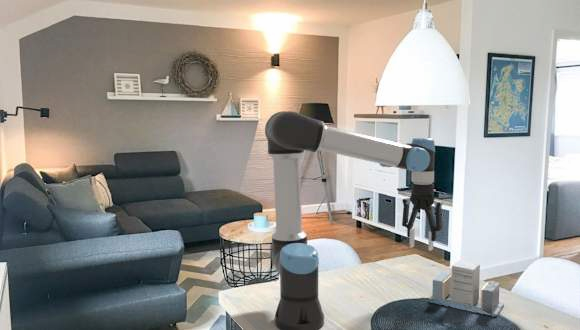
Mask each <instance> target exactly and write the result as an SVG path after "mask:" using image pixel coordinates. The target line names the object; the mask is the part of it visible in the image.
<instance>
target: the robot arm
mask: <svg viewBox="0 0 580 330" xmlns="http://www.w3.org/2000/svg"><path fill="white" fill-rule="evenodd" d="M264 134H265V137H266V139H267V153H268V156H269V157H271V158H272V162H273V165H272V166H273V167H272V168H273V184H274V185H273V187H274V205H275V206H274V211H275V212H274V213H275V232H274V233H273V234H272V235H271V249H270V259H271V260H270V261H271V262H272V265H273V266H274V268H275V269H276V270H277V273H278V274H279V279H280V282H279V283H280V284H279V287H280V288H279V289H280V292H279V293H280V295H279V296H280V298H279V302H278V303H277V304H278V305H277V307H276V311H275V315H274V324H275V326H276V327H277V328H278V329H279V330H319V329H321V328H323V327H324V324H325V314H324V312H323V307H322V306H321V305H322V304H321V303H320V299H319V265H320V259H319V253H318V250H317V249H316V247H314V246H312V245H311V244H308V233H306V232H305V231H304V230H303V220H302V217H303V215H302V195H301V194H302V192H301V191H302V190H301V187H302V186H301V170H300V169H301V168H300V166H301V164H300V158H301V156H302V155H303V154H304V153H305V151H307V152H311V153H317V152H319V151H323V152H327V153H331V154H335V155H340V156H344V157H349V158H354V159H358V160H363V161H365V162H370V163H371V162H372V163H377V164H379V166H380V167H383V168H392V167H393V168H398V169H402V170H406V171H410V172H411V180H410V181H411V182H412V183H411V184H410V185H411V186H410V187H411V189H410V190H411V192H410V193H411V195H410V197H408V198H407V197H405V198H403V199H402V205H403V207H402V208H403V210H402V211H403V212H402V221H401V225H402V227H405V228H406V229H407V230H406V231H407V232H406V235H407V236H406V237H407V238H409V249H412V248H414V247H415V239H416V238H415V234H416V233H415V232H416V231H415V229H416V228H414V224H415V221H416V218H417V215H418V212H419V210H422V211H424V213H425V214H426V218H427V222H428V225H429V228H430V231H428V249H427V250H428V251H429V252H431V251H433V250H434V242H435V241H437V232H440V231H441V230H442V229H443V221H442V207H443V204H444V203H443V201H438V200H436V199H435V196H434V193H435V191H434V190H435V185H434V183H435V154H436V145H435V140H434V139H433V138H430V137H429V138H428V137H417V138H416V137H415V138H413V139H412V140H411V143H409V144H405V143H404V144H402V143H401V142H396V141H393V140H392V141H391V140H388V139H383V138H379V137H375V136H371V135H366V134H363V133H359V132H354V131H350V130H346V129H341V128H339V127H334V126H329V125H326V124H325V123H324V121H323V120H319V119H315V118H312V117H309V116H306V115H304V114H302V113H299V112H298V111H297V112H296V111H289V110H288V111H286V110H282V111H278V112H275V113H274V114H272V115H271V116H270V117H269V118H268V120H267V121H266V124H265V127H264ZM410 204H412V205H413V206H412V210H411V213H410ZM433 204H434V208H435V209H434V210H435V213H434V214H435V218H434V214H433V209H432V206H433ZM409 214H410V215H409Z"/></svg>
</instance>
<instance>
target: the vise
mask: <svg viewBox="0 0 580 330" xmlns="http://www.w3.org/2000/svg"><path fill="white" fill-rule="evenodd" d="M428 299H432V295H431V296H430V297H429V298H428ZM445 299H446V300H451V293H450V294H449V295H448V296H447V297H446V298H445ZM474 306H476V307H479V308H481V309H482V310H483V311H485V312H487V313H490V314H493V315H498V316H499V314H500V312H502V310H503V308H504V307H505V303H504V302H500V281H499V282H498V281H494V280H490V281H487V282H486V283H485V284H484V286H483V287H482V288H481V289H480V297H479V300H478V301H477V303H476V304H475V305H474Z"/></svg>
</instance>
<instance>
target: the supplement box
mask: <svg viewBox="0 0 580 330" xmlns="http://www.w3.org/2000/svg"><path fill="white" fill-rule="evenodd" d="M480 270H481V265H480V264H479V263H476V262H468V261H465V260H464V261H462V260H458V261H456V262H455V263H453V265H451V275H452V278H451V301H454V302H459V303H462V304H466V305H470V306H474V305H475V304H476V303H477V301H478V300H479V298H480V276H481V275H480Z"/></svg>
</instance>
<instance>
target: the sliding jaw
mask: <svg viewBox="0 0 580 330" xmlns="http://www.w3.org/2000/svg"><path fill="white" fill-rule="evenodd" d="M451 278H452V272H445V271H442V272H440V273H439V274H438V275H437V276H435V277H434V278H433V279H432V295H431V296H432V299H438V300H444V299H445V298H446V297H447V296H448V295H449V294H450V293H451Z"/></svg>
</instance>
